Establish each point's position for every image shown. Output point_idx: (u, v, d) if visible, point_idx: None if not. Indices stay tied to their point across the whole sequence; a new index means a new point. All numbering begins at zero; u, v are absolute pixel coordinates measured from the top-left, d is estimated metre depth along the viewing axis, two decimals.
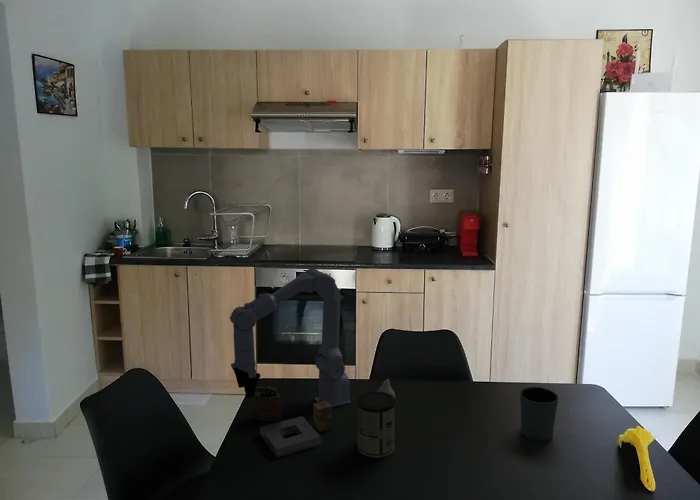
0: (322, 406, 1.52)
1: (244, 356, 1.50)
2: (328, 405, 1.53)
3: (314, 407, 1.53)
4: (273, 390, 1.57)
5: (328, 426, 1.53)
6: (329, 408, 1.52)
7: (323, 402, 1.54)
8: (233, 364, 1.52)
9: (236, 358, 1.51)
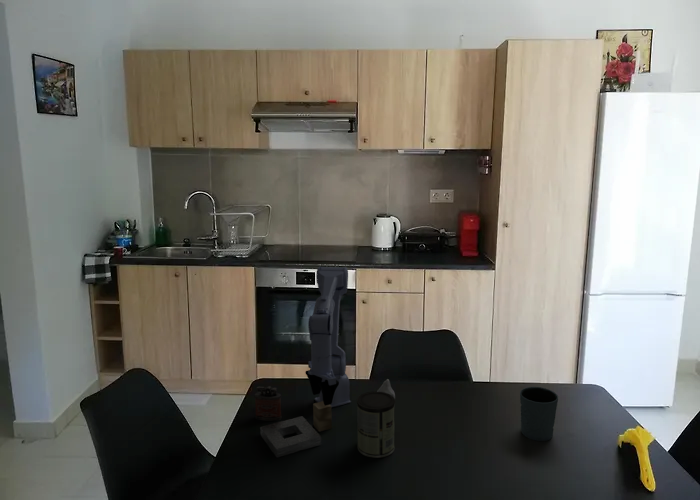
0: (322, 406, 1.52)
1: (323, 363, 1.48)
2: (328, 405, 1.53)
3: (314, 407, 1.53)
4: (273, 390, 1.57)
5: (328, 426, 1.53)
6: (329, 408, 1.52)
7: (323, 402, 1.54)
8: (310, 371, 1.49)
9: (314, 365, 1.49)
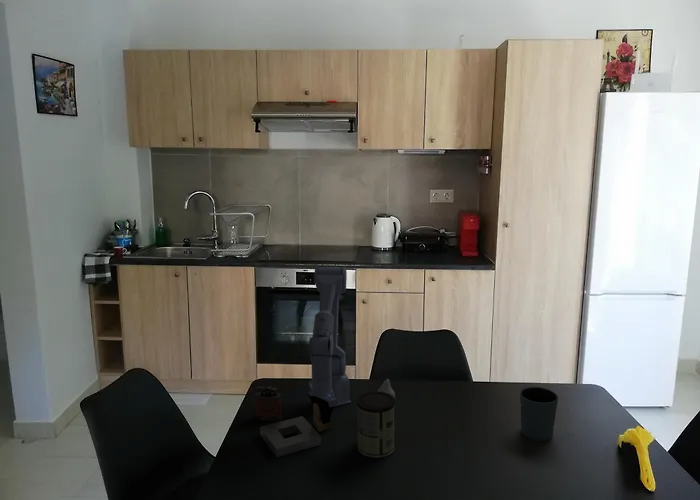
0: None
1: (323, 384, 1.49)
2: None
3: (314, 407, 1.53)
4: (273, 390, 1.57)
5: (328, 426, 1.53)
6: None
7: None
8: (311, 392, 1.51)
9: (314, 386, 1.50)
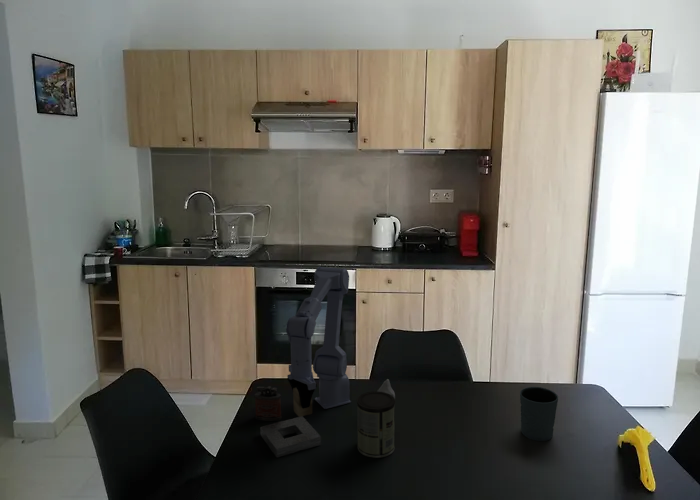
0: None
1: (302, 367, 1.43)
2: None
3: (294, 391, 1.48)
4: (273, 390, 1.57)
5: (308, 411, 1.47)
6: None
7: None
8: (290, 375, 1.45)
9: (293, 369, 1.44)
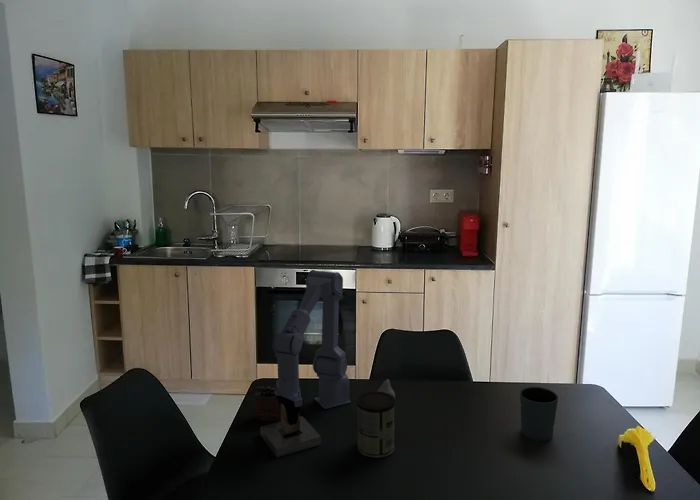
0: None
1: (289, 383, 1.41)
2: None
3: (281, 408, 1.46)
4: (273, 390, 1.57)
5: (296, 428, 1.45)
6: None
7: None
8: (277, 391, 1.43)
9: (280, 385, 1.42)
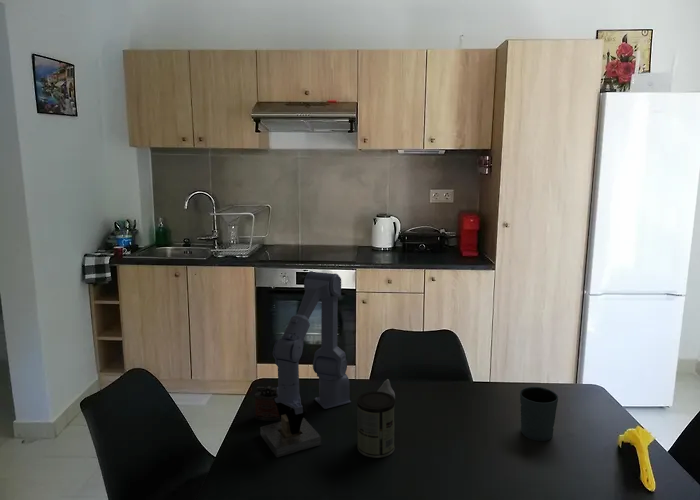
0: None
1: (289, 390, 1.42)
2: None
3: (282, 419, 1.46)
4: (273, 390, 1.57)
5: None
6: None
7: None
8: (277, 398, 1.43)
9: (280, 392, 1.43)
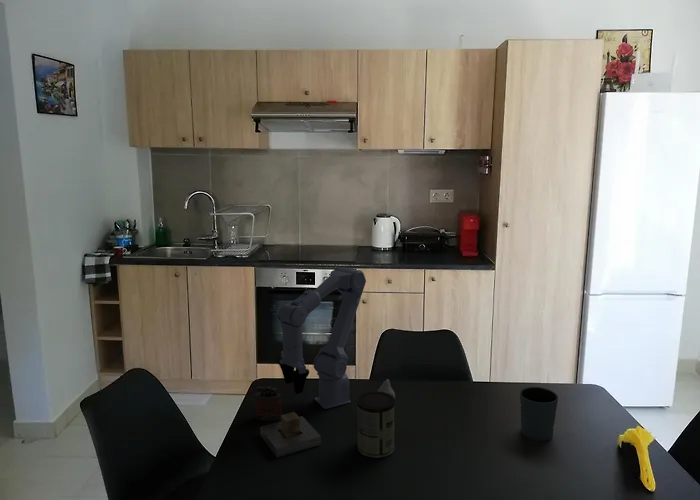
0: (290, 418, 1.45)
1: (293, 352, 1.52)
2: (296, 417, 1.46)
3: (282, 419, 1.46)
4: (273, 390, 1.57)
5: None
6: (297, 420, 1.45)
7: (292, 414, 1.48)
8: (282, 360, 1.53)
9: (285, 354, 1.53)
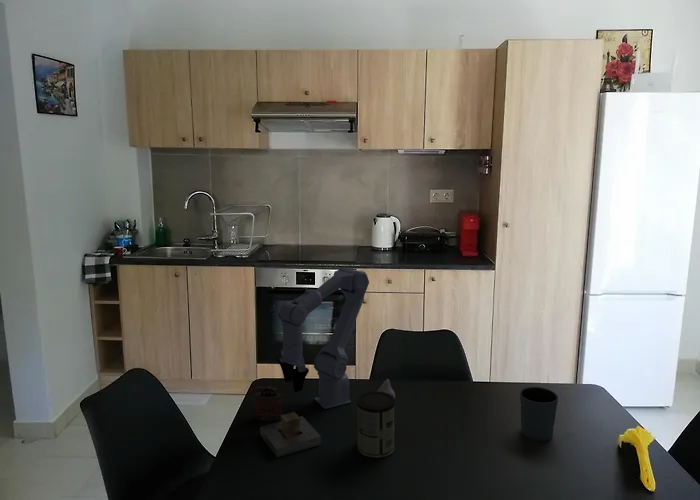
0: (290, 418, 1.45)
1: (293, 350, 1.53)
2: (296, 417, 1.46)
3: (282, 419, 1.46)
4: (273, 390, 1.57)
5: None
6: (297, 420, 1.45)
7: (292, 414, 1.48)
8: (282, 358, 1.54)
9: (285, 352, 1.54)
